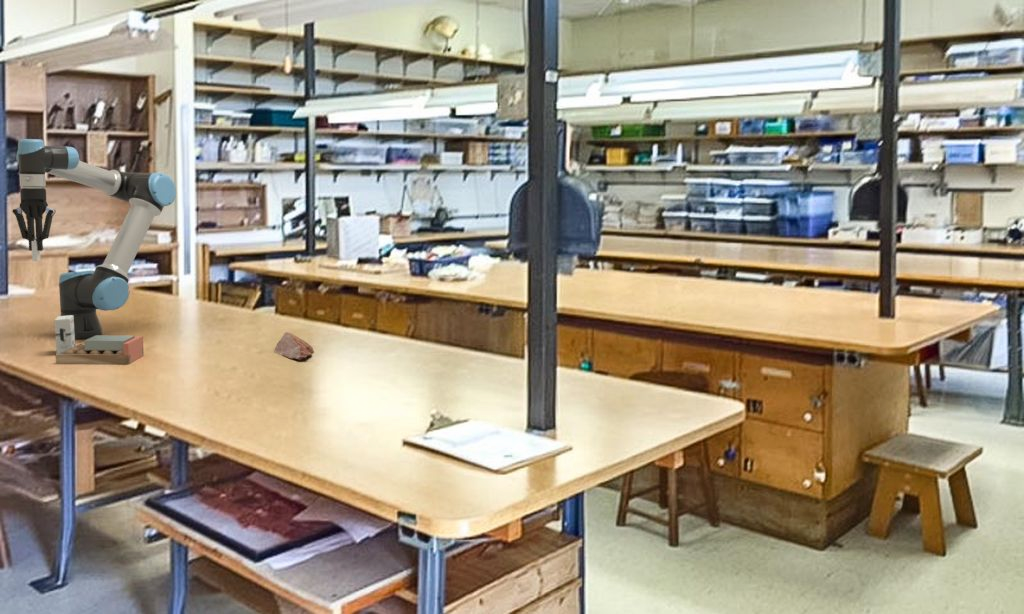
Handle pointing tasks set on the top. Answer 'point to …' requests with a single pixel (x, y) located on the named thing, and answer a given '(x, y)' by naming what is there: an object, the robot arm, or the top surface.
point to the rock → (293, 347)
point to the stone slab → (106, 342)
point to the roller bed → (92, 356)
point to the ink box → (64, 333)
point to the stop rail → (133, 348)
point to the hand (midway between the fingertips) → (36, 260)
